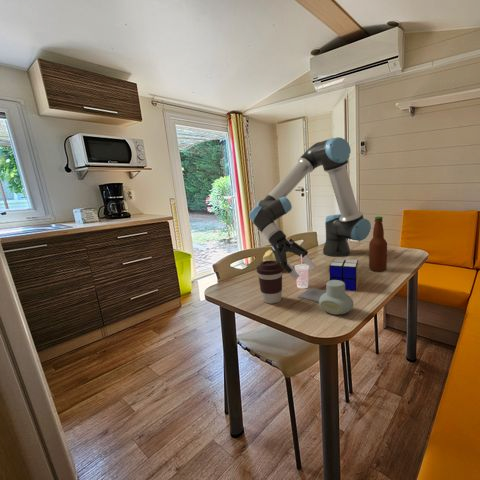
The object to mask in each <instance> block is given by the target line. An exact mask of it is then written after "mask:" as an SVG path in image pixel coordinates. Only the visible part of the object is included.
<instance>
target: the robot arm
mask: <svg viewBox="0 0 480 480" xmlns="http://www.w3.org/2000/svg"><path fill="white" fill-rule="evenodd" d="M351 150H352V149H351V146H350V144H349V142H348V141H347V140H346V139H345V138H343V137H331V138H329V139H324V140H321V141H319V142H316V143H314V144H313V145H311V146H310V147H309V148H307V150H306V151H305V152H304V153H303V154H301V156H300V157H299V158H298V159H297V163H296V164H295V166H293V168H292V169H290V171H288V173H287V174H286V175H285V176H284V177H283V178H282V179H281V180H280V182H278V184H276V186H275V187H274V188H273V189H272V190H271V191H270V192H269V193H267V195H266V196H265V197H264V199H260V200H259V201H257V203H256V205H255V207H253V208H252V209H251V210H250V211H249V214H248V217H249V219H250V220H251V222H252V224H254V226H255V227H256V228H257V229H258V231H260V233H261V234H262V235H263V237H264V238H265V239H266V240H267V241H268V243H269V244H270V245H271V246H272V247H271V250H272V251H273V253H274V256H275V258H276V261H277V262H278V263H279V264H281V265H282V266H283V269H285V271H287V273H288V274H289V275H290V276H291V277H292V278H293V280H295V281H296V279H297V278H298V277H299V276H300V275H299V274H298V273H297V272H296V271H295V268H294V267H293V266H292V264H291V263H290V262H289V263H288V259H287V253H292V254H295V255H296V256H298V257H300V258H301V255H302V262H304V264H306V265H309V270H310V271H313V270H314V269H315V268H316V267H317V266H316V264H315V263H314V262H313V261H312V260H311V258H310V257H309V256H308V254H309V252H308V249H307V250H306V249H305V248H304V247H302V246H301V245H300V244H298V243H297V242H295V241H294V240H293V239H292V238H290V239H289V240H287V235H286V234H285V233H284V232H283V231H282V230H281V228H280V227H279V225H277V224H276V222H275V221H277V220H278V219H280V218H281V217H283V216H284V215H286V214H288V213H290V212H291V210H292V209H293V206H292V202H291V200H289V199H288V197H287V196H288V195H289V194H290V193H291V192H292V191H293V190H294V189H295V188H296V186H298V185H299V183H300V182H301V181H302V180H303V179H304V178H305V177H306V176H307V174H309V173H312V172H313V171H315V169H317V168H319V167H320V166H322V168H323V172H325V173H328V177H329V180H330V183H331V186H332V189H333V190H332V191H333V193H334V196H335V200H336V202H337V206H338V209H339V214H338V213H337V214H332V215H331V214H330V215H327V216H326V217H325V223H324V224H325V242H324V246H323V249H322V250H323V251H322V254H323V255H325V256H329V257H346V256H349V255H351V249H350V245H349V242H348V240H352V241H363V240H365V239H366V238H367V237H368V236H369V234H370V233H371V230H372V229H371V228H372V224H371V222H370V220H368V219H367V218H364V215H363V214H364V213H363V212H362V211H360V210H359V208H358V205H357V202H356V198H355V194H354V191H353V187H352V184H351V180H350V177H349V172H348V170H347V169H348V168H347V165H348V164H349V160H348V159H349V158H350V156H351V155H350V154H351ZM280 262H281V263H280Z"/></svg>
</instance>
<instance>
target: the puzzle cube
mask: <svg viewBox="0 0 480 480" xmlns="http://www.w3.org/2000/svg"><path fill="white" fill-rule="evenodd" d="M328 270H329V281H330V280H339V281H342V282H344V283H345V291H352V292H356V291H357V288H358V285H359V259H350V258H348V259H345V258H333V259H332V261H331V262H330V264H329V269H328Z"/></svg>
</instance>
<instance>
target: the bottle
mask: <svg viewBox="0 0 480 480" xmlns="http://www.w3.org/2000/svg"><path fill="white" fill-rule="evenodd" d="M383 218H384V217H382V216H375V217H374V226H373V231H372V238H371V240H370V241H369V246H368V248H369V249H368V269H369V270H370V271H372V272H375V273H376V272H377V273H381V272H382V273H383V272H386V270H387V269H388V268H387V266H388V264H387V263H388V260H387V259H388V241H386V239H385V237H384V236H385V235H384V234H385V232H384V224H383Z"/></svg>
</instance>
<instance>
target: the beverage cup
mask: <svg viewBox="0 0 480 480" xmlns="http://www.w3.org/2000/svg"><path fill="white" fill-rule="evenodd" d="M293 268H294V269H295V271H296V272H297V273H298V274H299V275H300V276H299V277H298V278H297V279H296V280H295V281H296V287H297V288H298V289H307V288H308V287H309V270H310V268H309V265H307V264H306V263H303V260H302V255H301V257H300V263H299V264H295V265H294V267H293Z"/></svg>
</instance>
